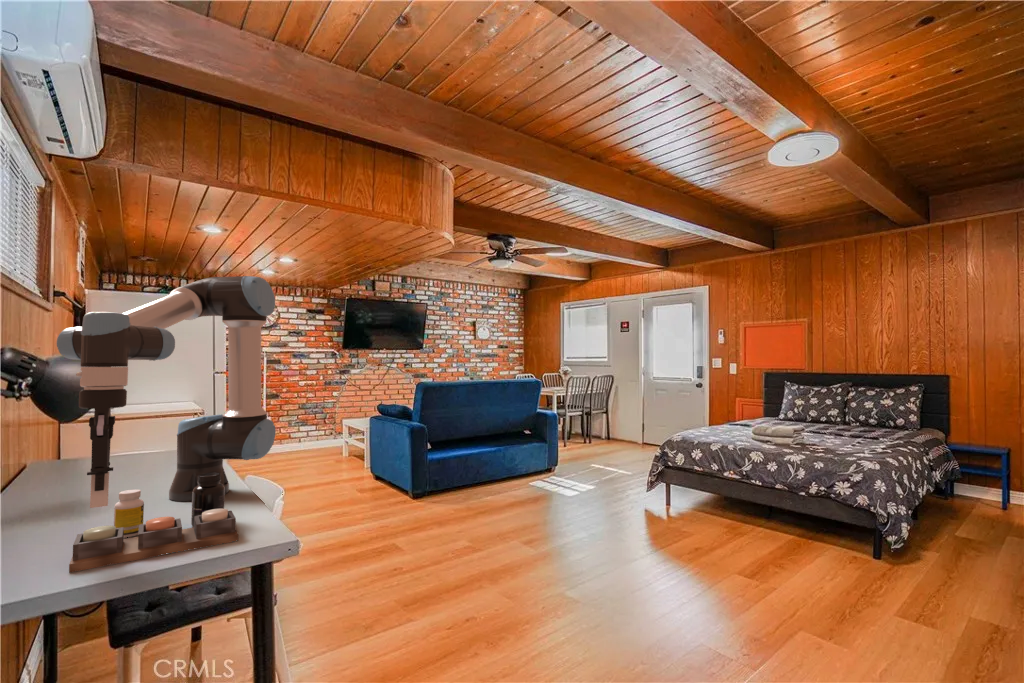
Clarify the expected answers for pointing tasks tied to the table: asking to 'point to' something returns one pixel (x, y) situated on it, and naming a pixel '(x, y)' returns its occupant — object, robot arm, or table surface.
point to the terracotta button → (160, 523)
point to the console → (151, 543)
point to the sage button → (99, 533)
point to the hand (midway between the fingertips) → (99, 505)
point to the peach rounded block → (214, 515)
